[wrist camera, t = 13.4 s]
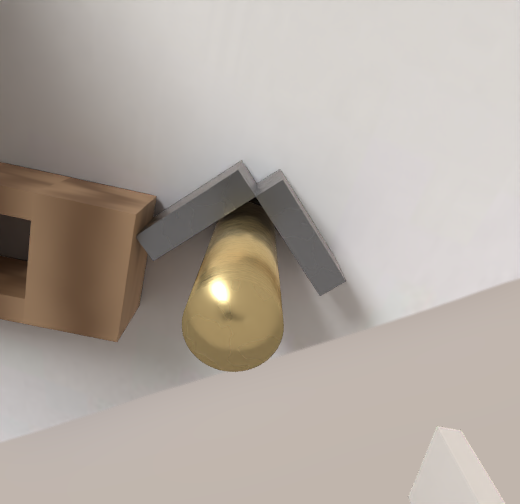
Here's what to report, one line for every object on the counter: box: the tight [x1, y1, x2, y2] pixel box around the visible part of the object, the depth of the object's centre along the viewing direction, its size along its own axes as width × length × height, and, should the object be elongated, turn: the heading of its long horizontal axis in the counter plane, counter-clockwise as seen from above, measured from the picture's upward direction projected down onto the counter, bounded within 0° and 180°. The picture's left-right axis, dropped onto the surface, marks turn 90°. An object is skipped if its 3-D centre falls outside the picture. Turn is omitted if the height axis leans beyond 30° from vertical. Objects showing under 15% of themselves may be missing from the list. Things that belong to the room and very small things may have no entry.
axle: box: [182, 202, 284, 372], centre depth 28 cm, size 4×4×16 cm
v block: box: [136, 160, 346, 296], centre depth 33 cm, size 14×7×5 cm, turn 77°
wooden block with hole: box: [0, 162, 157, 342], centre depth 33 cm, size 18×9×6 cm, turn 77°
